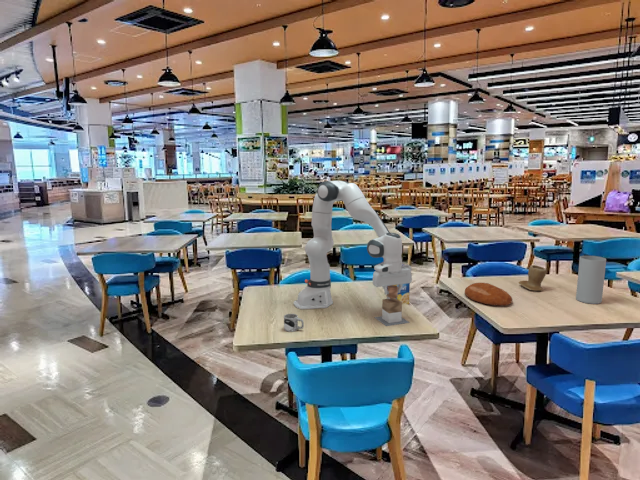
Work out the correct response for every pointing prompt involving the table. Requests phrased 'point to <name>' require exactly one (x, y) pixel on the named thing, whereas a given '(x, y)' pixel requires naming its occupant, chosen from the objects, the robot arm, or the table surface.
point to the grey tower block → (391, 316)
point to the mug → (292, 322)
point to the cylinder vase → (590, 279)
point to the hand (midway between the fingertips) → (392, 293)
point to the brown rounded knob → (392, 291)
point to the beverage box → (403, 293)
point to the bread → (488, 294)
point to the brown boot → (534, 278)
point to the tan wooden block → (392, 305)
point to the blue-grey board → (391, 323)
